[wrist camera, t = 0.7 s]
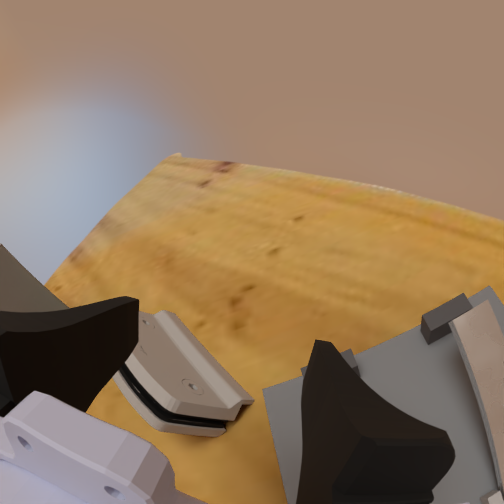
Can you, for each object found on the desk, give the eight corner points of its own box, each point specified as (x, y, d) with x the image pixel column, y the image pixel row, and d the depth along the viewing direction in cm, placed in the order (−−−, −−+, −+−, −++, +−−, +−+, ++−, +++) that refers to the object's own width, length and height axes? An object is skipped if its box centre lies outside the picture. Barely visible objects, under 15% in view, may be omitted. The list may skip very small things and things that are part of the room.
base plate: (564, 456, 10) (591, 446, 7) (313, 578, 13) (298, 594, 10) (485, 297, 23) (495, 267, 20) (270, 395, 26) (250, 379, 23)
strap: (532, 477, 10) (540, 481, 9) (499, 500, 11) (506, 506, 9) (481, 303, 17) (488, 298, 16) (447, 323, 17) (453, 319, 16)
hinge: (257, 402, 26) (170, 397, 19) (230, 437, 26) (143, 440, 19) (173, 311, 38) (104, 286, 31) (155, 341, 38) (86, 321, 31)
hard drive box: (110, 338, 39) (1, 242, 26) (85, 384, 35) (-35, 299, 22) (65, 314, 48) (-17, 239, 34) (44, 350, 44) (-43, 279, 31)
